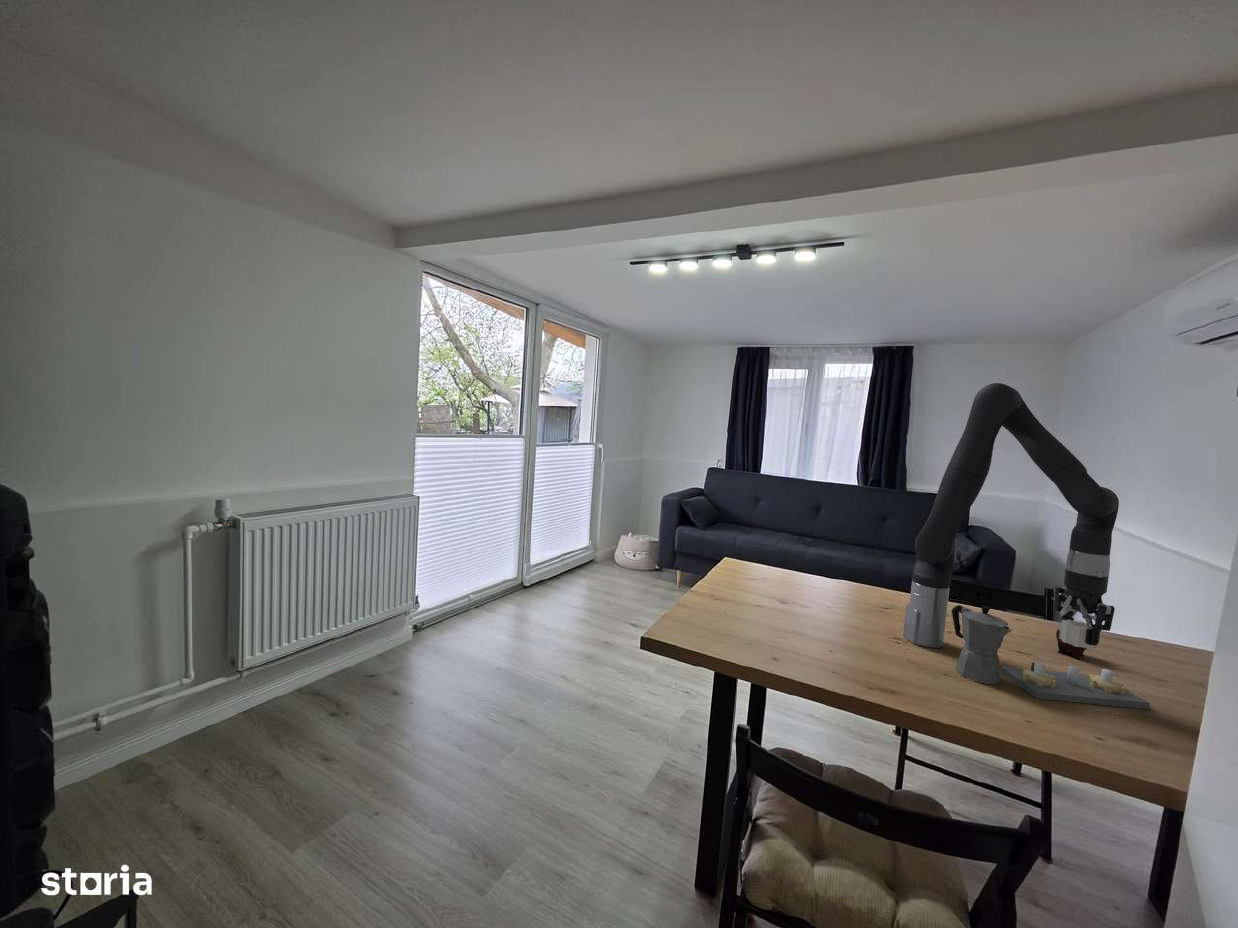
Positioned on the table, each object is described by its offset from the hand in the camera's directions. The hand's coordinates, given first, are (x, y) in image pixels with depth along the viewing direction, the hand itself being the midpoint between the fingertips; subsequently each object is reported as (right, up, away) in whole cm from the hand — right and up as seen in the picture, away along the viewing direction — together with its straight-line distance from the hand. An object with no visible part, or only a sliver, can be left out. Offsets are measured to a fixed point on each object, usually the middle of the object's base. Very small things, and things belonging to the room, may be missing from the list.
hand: (1078, 637), depth 118 cm
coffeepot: (-20, -12, +7) cm, 24 cm away
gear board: (-1, -13, +1) cm, 13 cm away
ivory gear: (0, -1, 0) cm, 1 cm away
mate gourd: (+17, -12, +22) cm, 30 cm away
